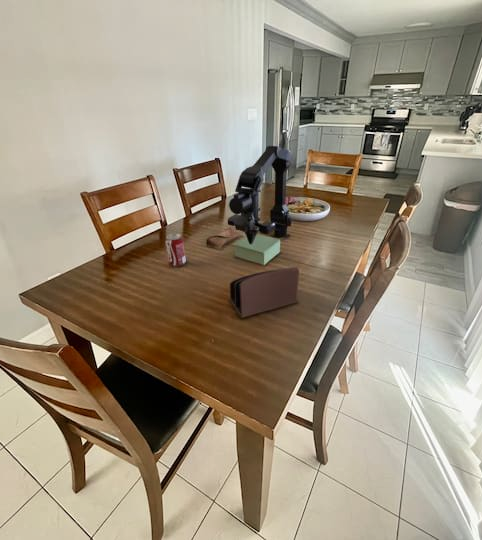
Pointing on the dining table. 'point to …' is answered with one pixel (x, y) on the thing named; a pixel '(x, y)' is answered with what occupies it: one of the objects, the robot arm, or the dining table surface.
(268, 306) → the letter holder
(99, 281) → the dining table surface
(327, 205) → the bowl
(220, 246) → the sunglasses case
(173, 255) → the soda can
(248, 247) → the lid
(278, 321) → the dining table surface
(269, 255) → the keepsake box
